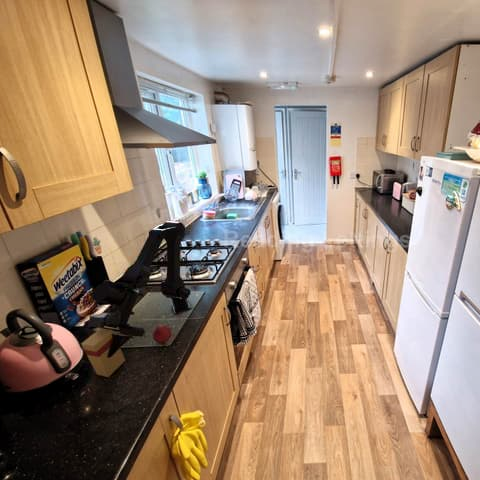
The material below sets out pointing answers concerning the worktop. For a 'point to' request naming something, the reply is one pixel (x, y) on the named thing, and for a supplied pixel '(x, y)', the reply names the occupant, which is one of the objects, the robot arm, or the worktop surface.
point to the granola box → (102, 352)
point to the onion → (161, 334)
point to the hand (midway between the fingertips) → (102, 356)
